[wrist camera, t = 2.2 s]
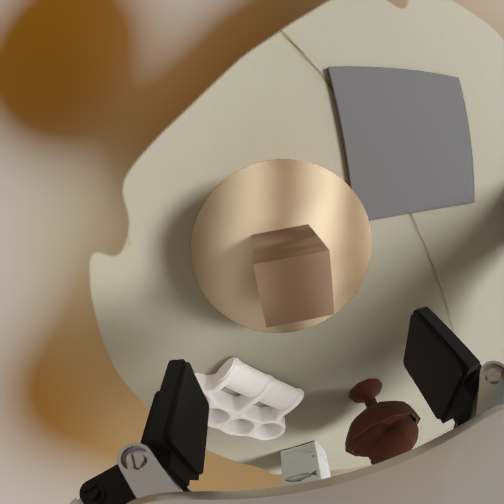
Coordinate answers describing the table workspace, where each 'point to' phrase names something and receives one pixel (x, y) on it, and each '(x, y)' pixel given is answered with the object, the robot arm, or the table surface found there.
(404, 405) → the ice cream bowl
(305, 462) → the supplement box
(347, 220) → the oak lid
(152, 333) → the table surface
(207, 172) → the table surface
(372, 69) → the rubber mat
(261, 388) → the white holed part
